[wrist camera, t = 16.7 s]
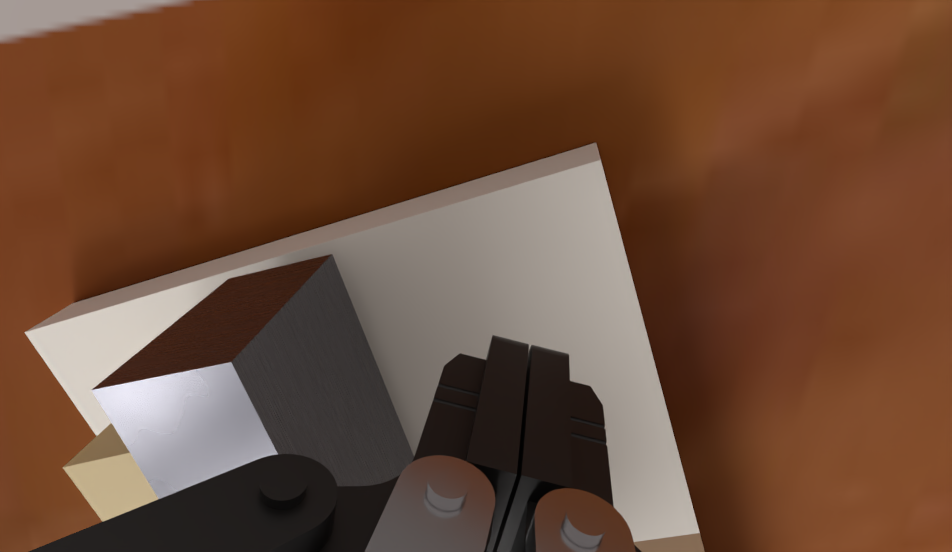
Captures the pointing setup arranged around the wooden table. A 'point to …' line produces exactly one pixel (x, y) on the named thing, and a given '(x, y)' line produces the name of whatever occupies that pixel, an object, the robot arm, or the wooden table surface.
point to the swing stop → (259, 385)
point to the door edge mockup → (432, 322)
